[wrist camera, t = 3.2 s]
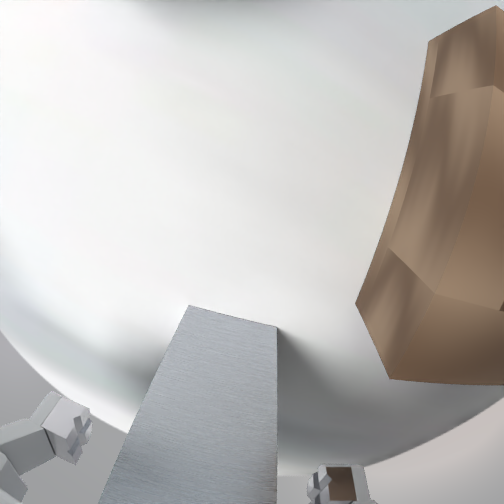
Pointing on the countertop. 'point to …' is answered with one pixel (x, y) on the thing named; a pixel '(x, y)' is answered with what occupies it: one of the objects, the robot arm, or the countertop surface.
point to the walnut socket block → (447, 221)
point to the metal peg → (205, 419)
